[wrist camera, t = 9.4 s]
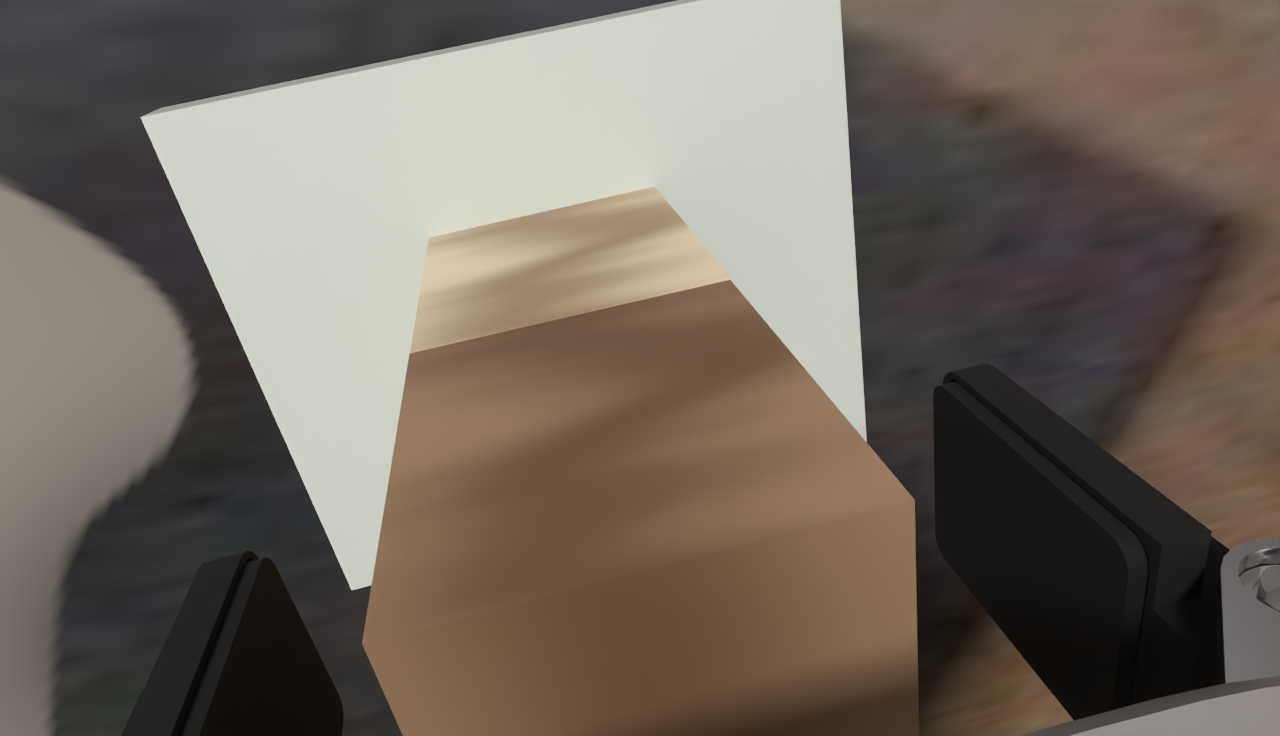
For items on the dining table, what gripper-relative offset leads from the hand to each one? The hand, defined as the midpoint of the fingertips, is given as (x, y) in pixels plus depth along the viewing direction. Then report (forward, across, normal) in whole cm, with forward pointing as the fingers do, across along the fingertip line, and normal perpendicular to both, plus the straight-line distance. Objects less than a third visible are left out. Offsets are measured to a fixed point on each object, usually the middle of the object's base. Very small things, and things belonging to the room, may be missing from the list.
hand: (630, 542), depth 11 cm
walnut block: (+2, 0, 0) cm, 2 cm away
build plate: (+10, 0, 0) cm, 10 cm away
